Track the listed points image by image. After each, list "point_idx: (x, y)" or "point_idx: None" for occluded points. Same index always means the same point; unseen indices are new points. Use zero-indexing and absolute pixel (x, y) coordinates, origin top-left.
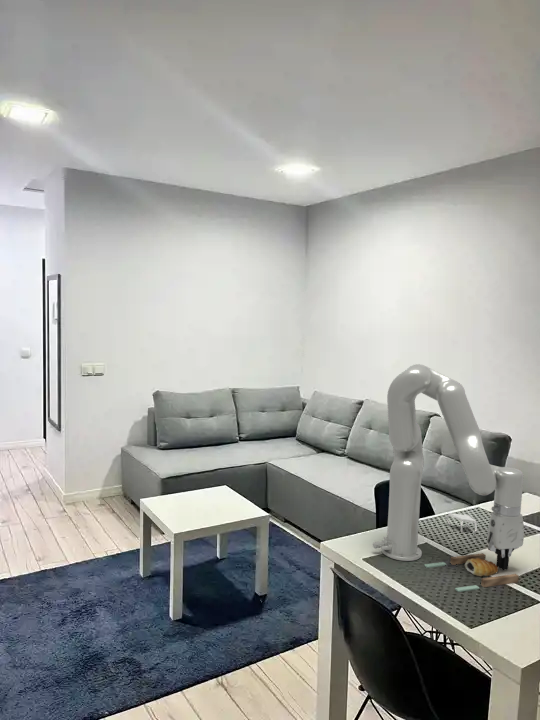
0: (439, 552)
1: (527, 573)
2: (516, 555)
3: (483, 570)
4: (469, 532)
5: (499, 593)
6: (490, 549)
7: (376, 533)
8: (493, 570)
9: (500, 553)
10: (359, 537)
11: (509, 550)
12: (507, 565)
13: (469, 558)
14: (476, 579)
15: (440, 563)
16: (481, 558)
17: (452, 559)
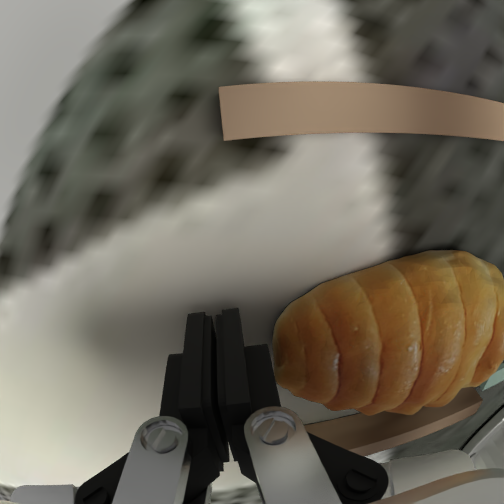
0: None
1: (33, 257)
2: (41, 439)
3: (472, 270)
4: None
5: (482, 10)
6: (470, 462)
7: None
8: (373, 285)
9: (310, 454)
10: None
11: (166, 493)
12: (196, 337)
13: (386, 429)
14: (499, 216)
15: (502, 376)
16: None
17: (478, 399)
